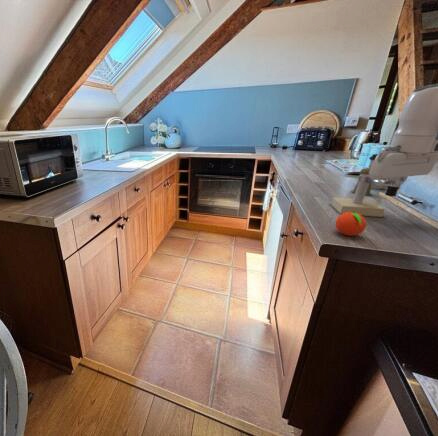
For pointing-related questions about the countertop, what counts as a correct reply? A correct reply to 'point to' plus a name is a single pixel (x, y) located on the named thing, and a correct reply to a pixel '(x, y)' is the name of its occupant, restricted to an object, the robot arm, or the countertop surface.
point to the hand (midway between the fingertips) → (393, 190)
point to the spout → (380, 184)
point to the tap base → (358, 203)
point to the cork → (366, 171)
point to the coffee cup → (370, 167)
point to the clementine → (350, 223)
